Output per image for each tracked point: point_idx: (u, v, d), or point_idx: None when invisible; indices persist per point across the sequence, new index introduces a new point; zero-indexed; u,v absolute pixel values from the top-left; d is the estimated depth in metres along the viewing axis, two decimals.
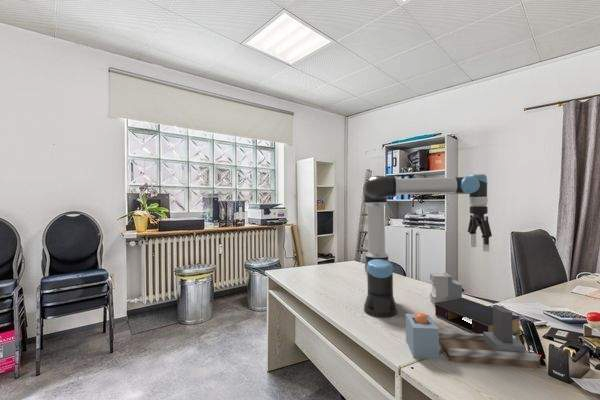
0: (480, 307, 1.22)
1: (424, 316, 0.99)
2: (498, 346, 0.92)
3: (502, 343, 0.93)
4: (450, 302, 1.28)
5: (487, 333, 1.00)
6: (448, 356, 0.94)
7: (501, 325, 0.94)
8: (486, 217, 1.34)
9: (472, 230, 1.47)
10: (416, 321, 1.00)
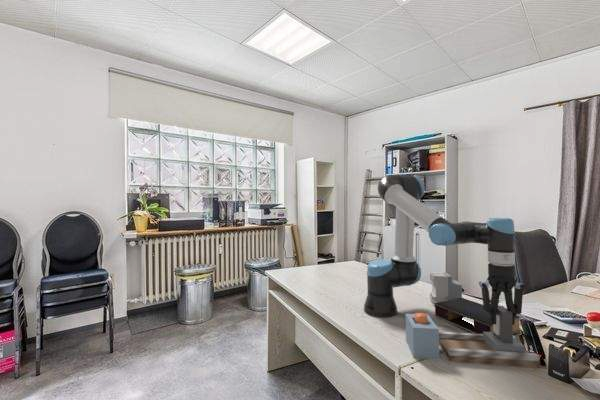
0: (480, 307, 1.22)
1: (424, 316, 0.99)
2: (498, 346, 0.92)
3: (502, 343, 0.93)
4: (449, 302, 1.28)
5: (487, 333, 1.00)
6: (448, 356, 0.94)
7: (501, 325, 0.94)
8: (481, 285, 0.97)
9: (507, 305, 0.97)
10: (416, 321, 1.00)
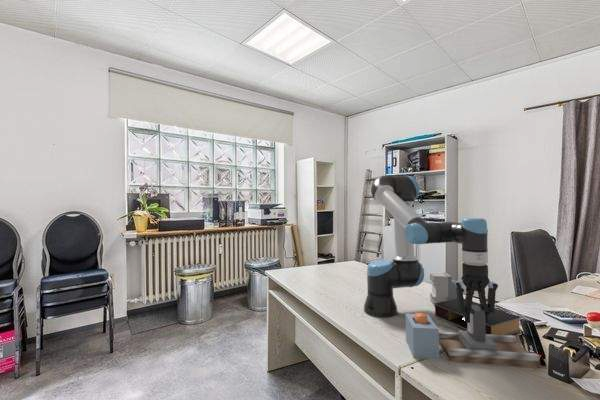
0: None
1: (424, 316, 0.99)
2: (471, 344, 0.93)
3: (475, 341, 0.94)
4: (449, 302, 1.28)
5: (462, 332, 1.01)
6: (448, 356, 0.94)
7: (474, 324, 0.95)
8: (456, 284, 0.98)
9: (480, 304, 0.98)
10: (416, 321, 1.00)
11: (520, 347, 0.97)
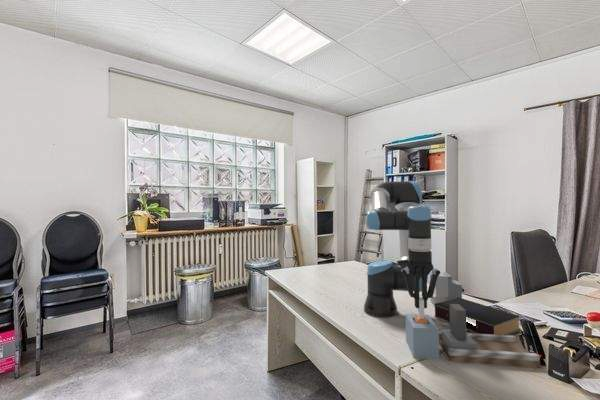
0: (479, 307, 1.22)
1: (424, 319, 0.99)
2: (452, 343, 0.94)
3: (456, 340, 0.95)
4: (449, 303, 1.28)
5: (444, 331, 1.02)
6: (448, 356, 0.94)
7: (455, 323, 0.96)
8: (402, 272, 1.01)
9: (422, 289, 1.01)
10: None
11: (520, 347, 0.97)
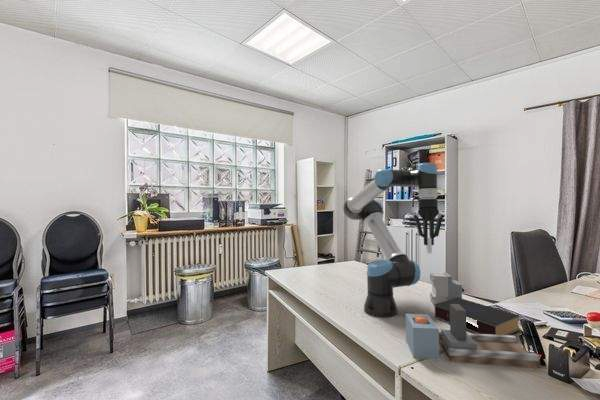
0: (478, 306, 1.23)
1: (424, 319, 0.99)
2: (452, 343, 0.94)
3: (456, 340, 0.95)
4: (448, 303, 1.28)
5: (444, 331, 1.02)
6: (448, 356, 0.94)
7: (455, 323, 0.96)
8: (413, 216, 1.25)
9: (429, 231, 1.25)
10: None
11: (520, 347, 0.97)
